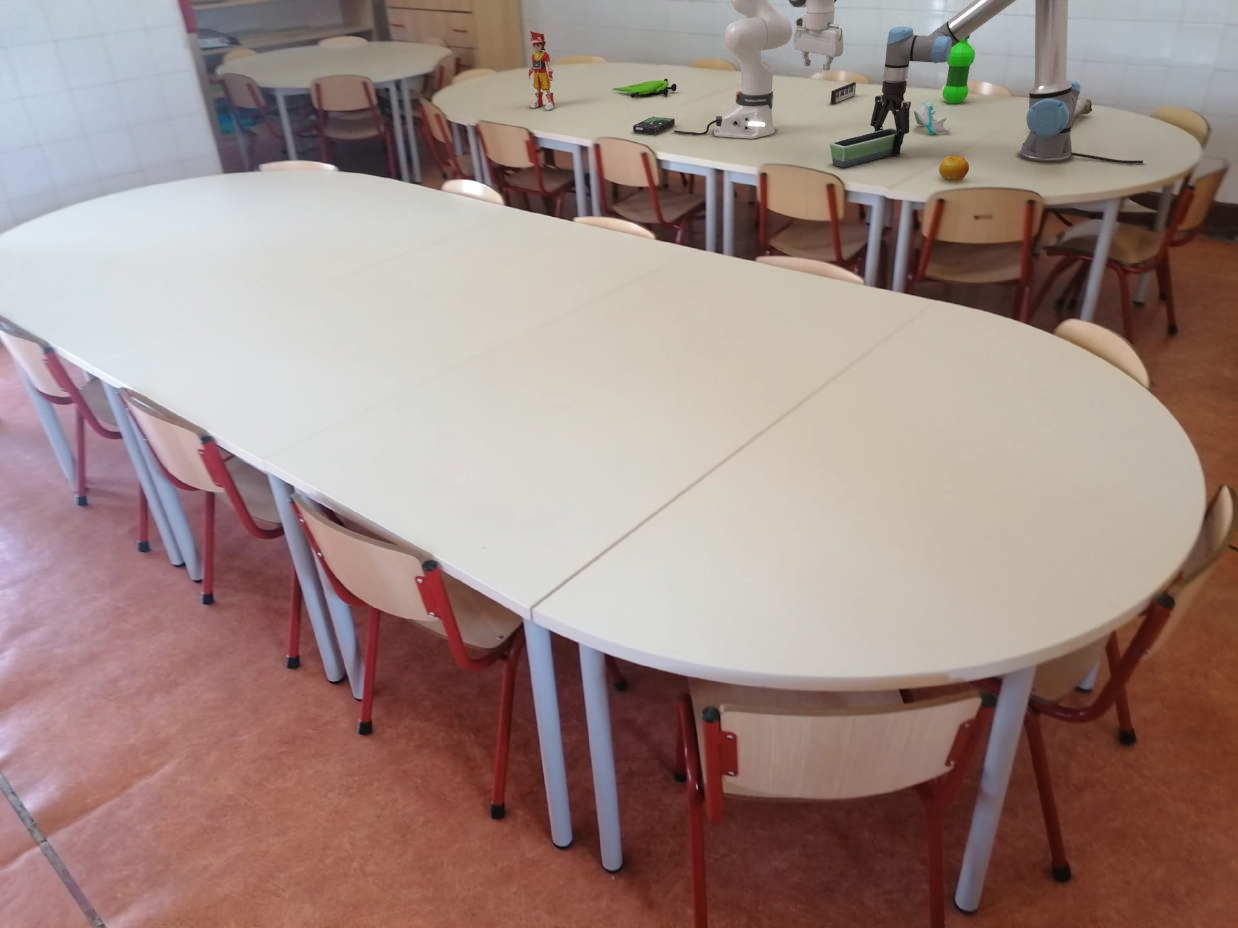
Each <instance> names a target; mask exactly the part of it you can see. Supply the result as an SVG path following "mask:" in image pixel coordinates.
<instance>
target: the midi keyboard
mask: <svg viewBox="0 0 1238 928" xmlns="http://www.w3.org/2000/svg"><path fill="white" fill-rule="evenodd" d="M856 86H857V82H856V81H854V82H850V83H848V84H846V85H842V86H841V87H838V88H835V89H833V90H831V94H830V105H835V104H837V103H839V102H841V101H843V100H846V99H848V98H851V97H853V96H856Z"/></svg>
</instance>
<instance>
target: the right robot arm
mask: <svg viewBox="0 0 1238 928" xmlns="http://www.w3.org/2000/svg"><path fill="white" fill-rule="evenodd" d="M1016 1H1017V0H973V1H972V2H971V3H969V4H968V5H967V6H966V7H964V8H963V9H961V10H960V11H959V12H958V13H956V14H955V15H954V16H952V17H951V18H949V20H947V21H945V22H944V23H943V24H942V25H941V26H940V27H938V28H936V29H935V30H934V31H932V32H931V33H930V34H929V35H919V34H917V35H916V34H914V29H913V28H912V27H911V26H909V27H908V26H896V27H892V28H890V30H888V36H887V41H886V48H885V49H886V51H885V61H884V67H883V68H884V70H883V78H882V79H883V81H882V86H881V87H882V88H881V92H882V94H880V95H876V96H874V106H873V110H872V115H871V119H870V123H869V124H870V127H873V129H874V132H876V131H880V130H884V126H883V125H884V123H885V121H886V119H887V116H888V114H889V112H891V114H892V116H893V119H894V125H895V129H896V131H897V134H895V138H894V146H893V154H892V155H891V156H897V155H900V154H901V149H902V145H903V143H904V138H903V136H904V137H905V135H907V134H909V133H910V109H911V105H912V102H911V101H906V100H905V97H904V95H905V94H906V92H907V83H908V81H907V79H908V74H909V67H910V62H918V63H933V64H938V63H939V64H940V63H942V64H943V63H947V60H948V59H949V56H950V53H951V48H952V47H953V46H955V45H956V44H958V43H959V42H960V41H961V40H963V39H964V38H965V37H967V36H968V35H970V36H971V34H972V33H974V32H975V31H976V30H978V29H979V28H981V27H982V26H983V25H985V24H986V23H988V22H989V21H990V20H991V19H993V18H995V16H997V15H998V14H1000V13H1001V12H1003V10H1006V8H1008V7H1009V6H1010V5H1012V4H1013V3H1015V2H1016ZM1034 2H1035V3H1034V84H1033V85H1032V87H1031V88H1030V89H1029V91H1028V92H1029V93H1028V111H1027V114H1026V126H1027V128H1028V129H1029V131H1030V132H1029V133H1028V135H1027V137H1026V139H1025V141H1024V142H1023V143H1022V146H1021V148H1020V153H1019V156H1020V157H1021V158H1023V159H1025V160H1027V161H1031V162H1036V163H1062V162H1066V161H1069V160H1070V159H1071V157H1072V156H1073V157H1078V158H1079V157H1080V158H1086V159H1092V160H1097V161H1104V162H1109V163H1115V164H1144V160H1127V159H1125V160H1124V159H1115V158H1109V157H1103V156H1097V155H1091V154H1085V153H1078V152H1073V149H1072V139H1071V130H1072V126H1073V122H1074V120H1073V117H1074V113H1075V109H1076V104H1077V100H1078V98H1079V95H1080V94H1081V84H1080V83H1079V82H1077V81H1071V80H1070V81H1069V80H1067V67H1068V66H1067V65H1068V63H1067V62H1068V61H1067V60H1068V27H1069V26H1068V23H1069V22H1068V21H1069V20H1068V19H1069V0H1035V1H1034ZM904 134H905V135H904Z"/></svg>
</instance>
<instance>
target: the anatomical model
mask: <svg viewBox="0 0 1238 928" xmlns="http://www.w3.org/2000/svg"><path fill="white" fill-rule="evenodd" d="M935 113H936V110H934V107H933V105H930V103H929V102H926V101H924V102H923V104H922V106H920V107H919V108H916V109H914V111H913V115H914V119H915V121H916V124H917V125H918V126H924V127H925V128H926V130H927V132H928V133H929V134H930V135H937V134H939V133H950V132H951V128H946V127H945V126H944V123H945V122H946V121H947V120H948V118H947V117H942V118H940V119H939V120H938V119H935V118H934V117H933V115H934V114H935Z"/></svg>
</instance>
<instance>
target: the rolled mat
mask: <svg viewBox="0 0 1238 928" xmlns="http://www.w3.org/2000/svg"><path fill="white" fill-rule="evenodd" d="M1092 111H1093V108H1092V100H1091V99H1090V98H1081V97H1080V98H1079V97H1078V100H1077V104H1076V109H1075V113H1074V117H1073V121H1074V120H1075V119H1077V117H1079V116H1084V115H1088V114H1090V113H1091V112H1092Z"/></svg>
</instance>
